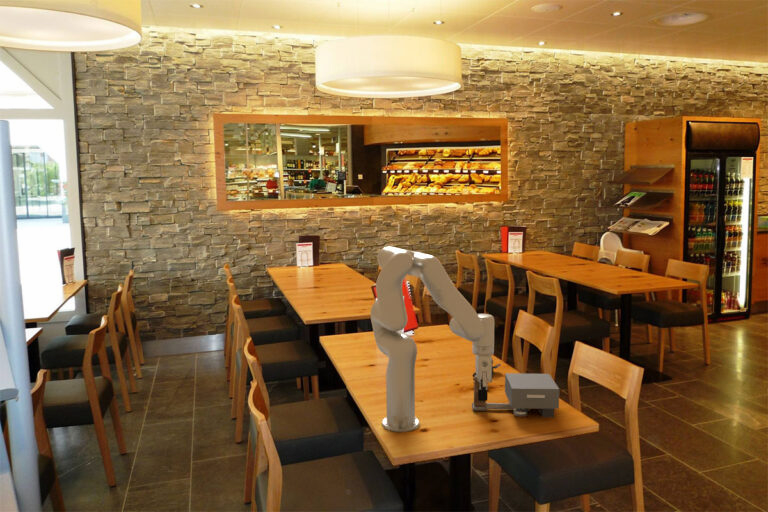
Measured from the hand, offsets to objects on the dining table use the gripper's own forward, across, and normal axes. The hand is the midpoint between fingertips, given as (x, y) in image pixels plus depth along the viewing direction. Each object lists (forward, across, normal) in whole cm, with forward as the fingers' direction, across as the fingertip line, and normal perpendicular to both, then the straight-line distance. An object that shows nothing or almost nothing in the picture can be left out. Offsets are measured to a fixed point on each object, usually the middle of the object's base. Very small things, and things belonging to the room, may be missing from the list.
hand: (482, 398), depth 213 cm
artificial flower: (+5, +34, -5) cm, 35 cm away
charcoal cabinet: (+4, 0, -17) cm, 18 cm away
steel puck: (+4, -3, -13) cm, 14 cm away
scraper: (+4, 0, -7) cm, 8 cm away
